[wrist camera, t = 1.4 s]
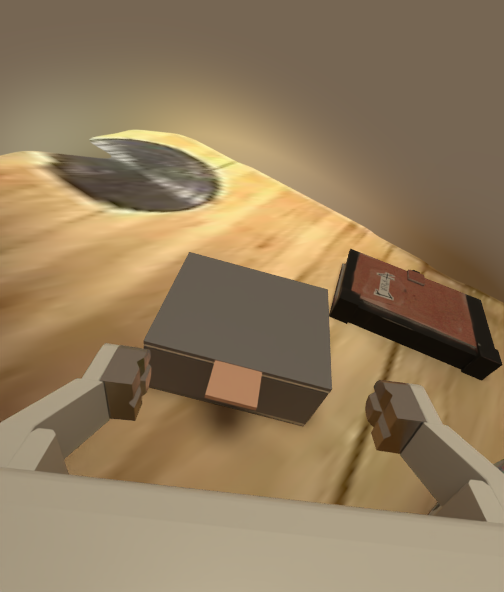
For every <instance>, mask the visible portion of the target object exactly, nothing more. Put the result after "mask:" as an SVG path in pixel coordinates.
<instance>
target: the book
mask: <svg viewBox="0 0 504 592" xmlns="http://www.w3.org/2000/svg"><path fill="white" fill-rule="evenodd" d="M329 316H330V317H332V318H334V319H337V320H339V321H341V322H344V323H346V324H347V323H348V322H349V323H352V324H354V325H356V326H359V327H361V328H364V329H366V330H368V331H371V332H373V333H376V334H378V335H380V336H383V337H385V338H387V339H390V340H392V341H395V342H397V343H399V344H402V345H404V346H407V347H409V348H411V349H414V350H416V351H418V352H421V353H423V354H426V355H428V356H430V357H433V358H435V359H437V360H440V361H442V362H445V363H447V364H449V365H452V366H454V367H457V368H459V369H461V372H463V373H465V374H467V375H470V376H472V377H475V378H477V379H479V380H483V379H484V378H485V377H487V376H488V375H489V374H491V373H492V372H493V371H495V370H496V369H497V368H499V367H500V366H502V362H501V359H500V355H499V352H498V350H496V349H495V347H494V344H493V341H492V337H491V334H490V330H489V327H488V323H487V320H486V316H485V313H484V310H483V306H482V303H481V300H479V299H477V298H474V297H472V296H469V295H466V294H464V293H461V292H459V291H456V290H454V289H451V288H449V287H446V286H444V285H441V284H439V283H436V282H433V281H431V280H428V279H426V278H424V275H422V274H420V272H417V271H415V270H408V271H406V270H403V269H400V268H398V267H395V266H393V265H390V264H388V263H385V262H383V261H380V260H378V259H375V258H373V257H370V256H367V255H365V254H362V253H360V252H357V251H355V250H352V249H350V251H349V254H348V259H347V262H346V264H342V268H341V271H340V275H339V279H338V283H337V287H336V291H335V294H334V298H333V302H332V306H331V310H330V314H329Z"/></svg>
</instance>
